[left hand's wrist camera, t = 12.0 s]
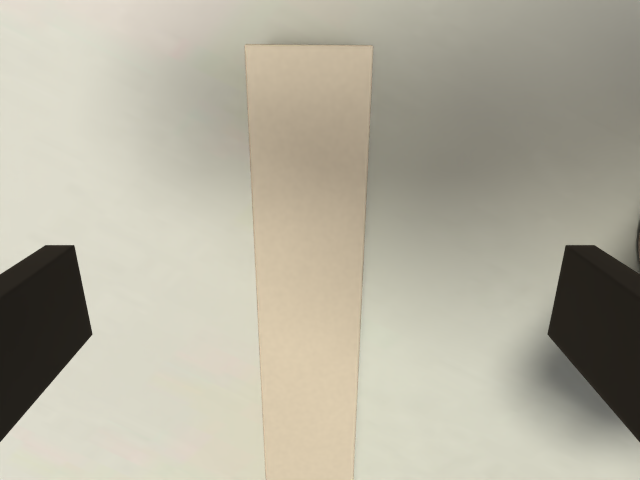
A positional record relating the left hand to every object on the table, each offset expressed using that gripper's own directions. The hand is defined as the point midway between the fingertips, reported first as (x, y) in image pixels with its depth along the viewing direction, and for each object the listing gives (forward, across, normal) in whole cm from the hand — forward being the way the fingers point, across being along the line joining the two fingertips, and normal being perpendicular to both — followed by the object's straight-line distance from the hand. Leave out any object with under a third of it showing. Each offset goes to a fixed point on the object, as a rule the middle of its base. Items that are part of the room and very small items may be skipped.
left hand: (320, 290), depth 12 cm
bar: (+18, -1, -27) cm, 33 cm away
